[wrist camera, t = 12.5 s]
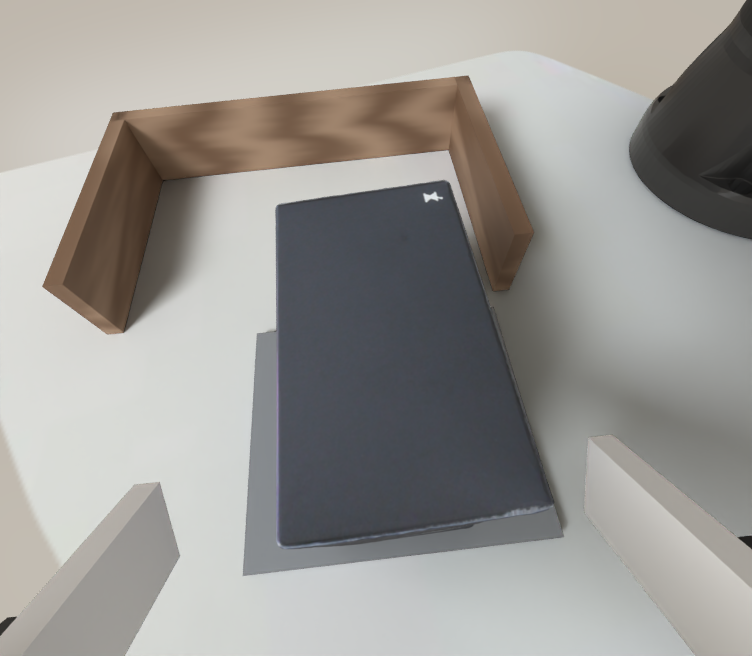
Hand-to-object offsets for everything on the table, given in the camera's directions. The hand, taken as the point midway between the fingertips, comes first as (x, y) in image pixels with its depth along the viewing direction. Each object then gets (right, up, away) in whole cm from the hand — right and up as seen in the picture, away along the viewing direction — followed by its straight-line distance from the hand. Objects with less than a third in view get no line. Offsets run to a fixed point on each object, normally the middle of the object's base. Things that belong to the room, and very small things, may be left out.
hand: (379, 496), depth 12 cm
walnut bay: (-5, +12, +15) cm, 20 cm away
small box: (+1, 0, +8) cm, 8 cm away
